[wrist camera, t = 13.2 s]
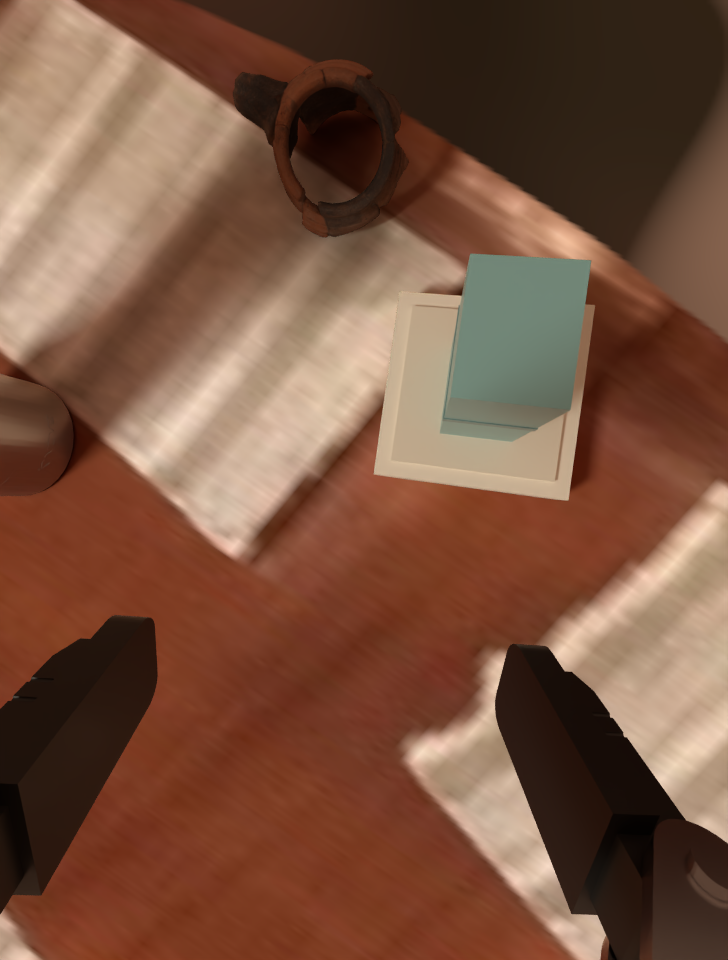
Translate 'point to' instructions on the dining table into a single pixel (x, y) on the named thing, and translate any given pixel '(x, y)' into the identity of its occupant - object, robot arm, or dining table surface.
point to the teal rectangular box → (514, 345)
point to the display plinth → (459, 459)
